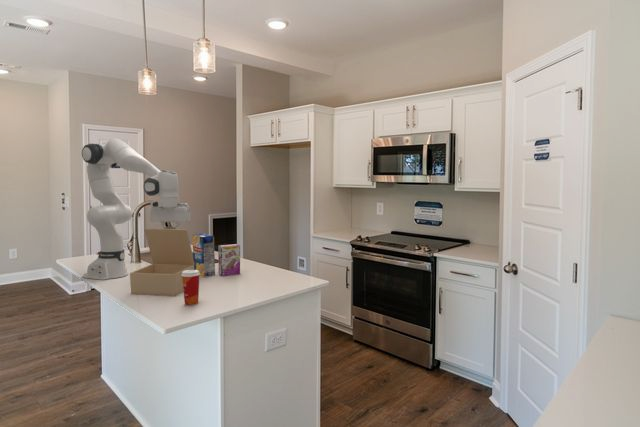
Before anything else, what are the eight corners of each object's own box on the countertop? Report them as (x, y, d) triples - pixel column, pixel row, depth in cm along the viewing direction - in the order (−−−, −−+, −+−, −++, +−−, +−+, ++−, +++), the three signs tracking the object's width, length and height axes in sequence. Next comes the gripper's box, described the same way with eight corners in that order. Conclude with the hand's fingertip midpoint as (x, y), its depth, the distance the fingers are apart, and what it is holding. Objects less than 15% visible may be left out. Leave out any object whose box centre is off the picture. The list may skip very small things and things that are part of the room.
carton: (130, 294, 194) (129, 273, 193) (153, 282, 214) (153, 263, 213) (175, 296, 191) (174, 274, 190) (194, 284, 211) (193, 265, 210)
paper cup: (184, 300, 184) (183, 269, 183) (202, 300, 185) (201, 269, 183) (180, 306, 176) (179, 273, 175) (198, 305, 177) (197, 273, 175)
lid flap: (144, 229, 204) (148, 224, 208) (153, 263, 213) (157, 258, 217) (186, 229, 201) (190, 225, 205) (194, 264, 210) (197, 259, 214)
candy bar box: (221, 276, 227) (220, 246, 225) (218, 274, 231) (217, 245, 229) (240, 273, 233) (240, 244, 231) (237, 272, 237) (236, 243, 235)
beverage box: (204, 277, 226) (203, 236, 224) (193, 273, 233) (192, 234, 231) (215, 274, 231) (214, 235, 228) (204, 271, 238) (203, 233, 236)
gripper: (192, 202, 208) (193, 230, 210) (154, 202, 211) (155, 229, 213) (186, 203, 202) (187, 232, 204) (147, 203, 205) (148, 231, 206)
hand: (170, 230), depth 208 cm, fingers open, 4 cm apart
